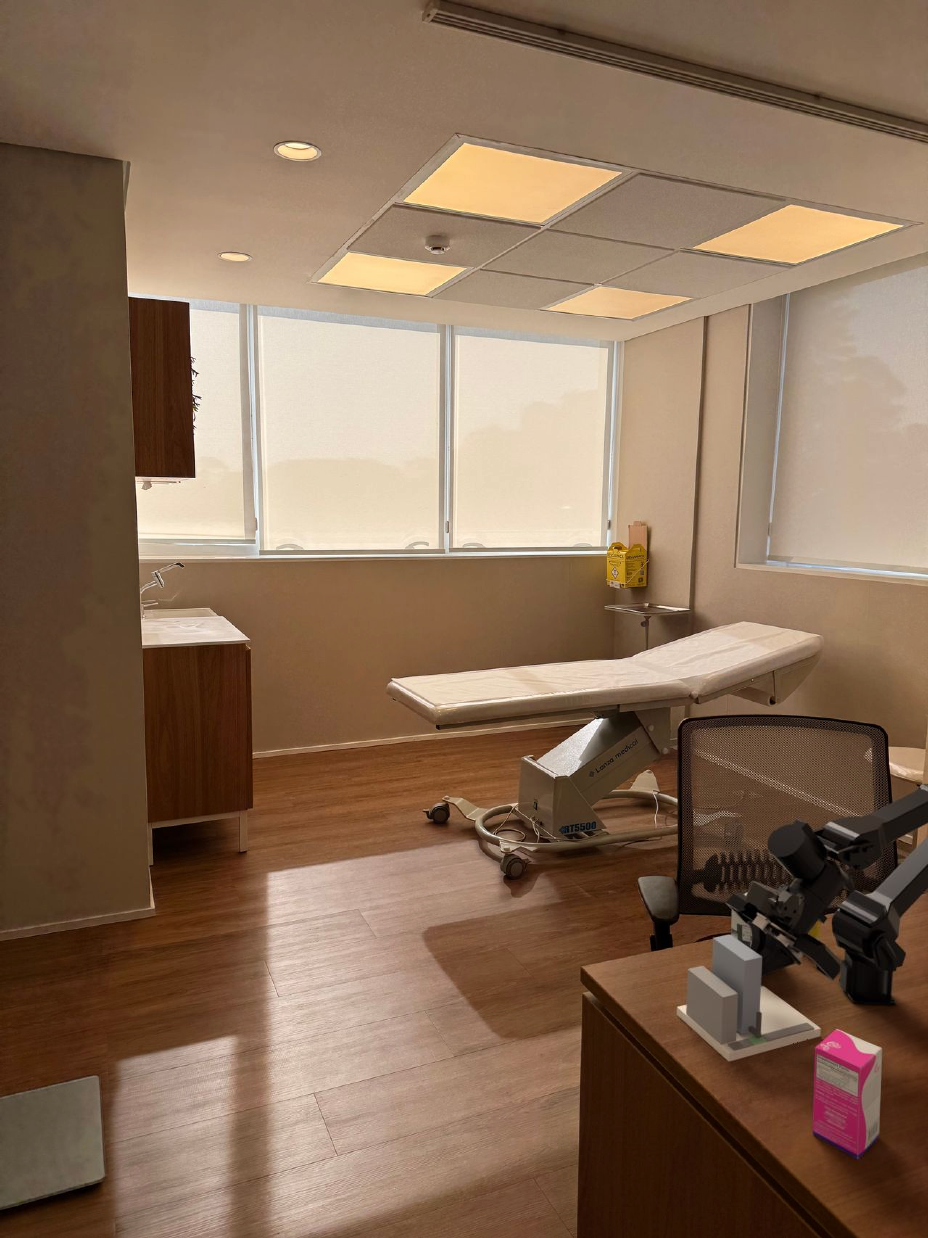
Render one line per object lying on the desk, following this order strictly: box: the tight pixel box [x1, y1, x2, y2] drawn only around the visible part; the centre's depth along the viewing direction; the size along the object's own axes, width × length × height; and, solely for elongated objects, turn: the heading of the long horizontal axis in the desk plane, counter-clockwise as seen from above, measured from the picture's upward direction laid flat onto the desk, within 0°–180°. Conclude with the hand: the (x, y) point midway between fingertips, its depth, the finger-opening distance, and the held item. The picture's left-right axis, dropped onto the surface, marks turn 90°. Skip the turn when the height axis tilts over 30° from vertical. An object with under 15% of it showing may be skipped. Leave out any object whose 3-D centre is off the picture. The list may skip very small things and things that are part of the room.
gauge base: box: [676, 965, 822, 1062], centre depth 126 cm, size 16×12×8 cm
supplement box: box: [812, 1028, 883, 1160], centre depth 103 cm, size 6×6×12 cm
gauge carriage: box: [711, 933, 762, 1038], centre depth 124 cm, size 3×9×11 cm, turn 21°
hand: (745, 979), depth 125 cm, fingers closed, pressing on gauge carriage
